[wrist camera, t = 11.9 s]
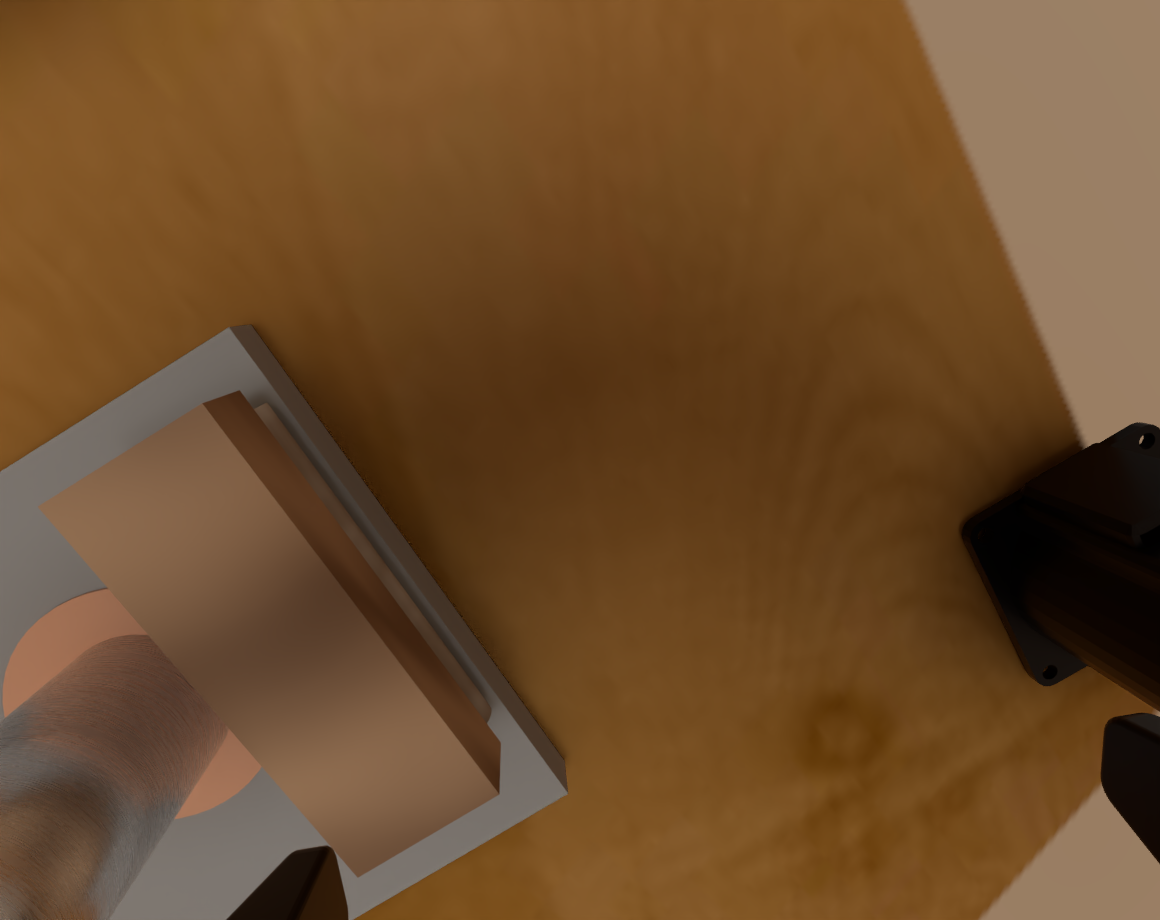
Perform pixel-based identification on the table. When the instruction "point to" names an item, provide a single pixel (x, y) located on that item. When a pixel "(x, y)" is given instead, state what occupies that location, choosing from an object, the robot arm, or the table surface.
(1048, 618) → the robot arm
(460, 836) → the slate board
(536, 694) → the table surface
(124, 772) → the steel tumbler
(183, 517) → the wooden toy car
